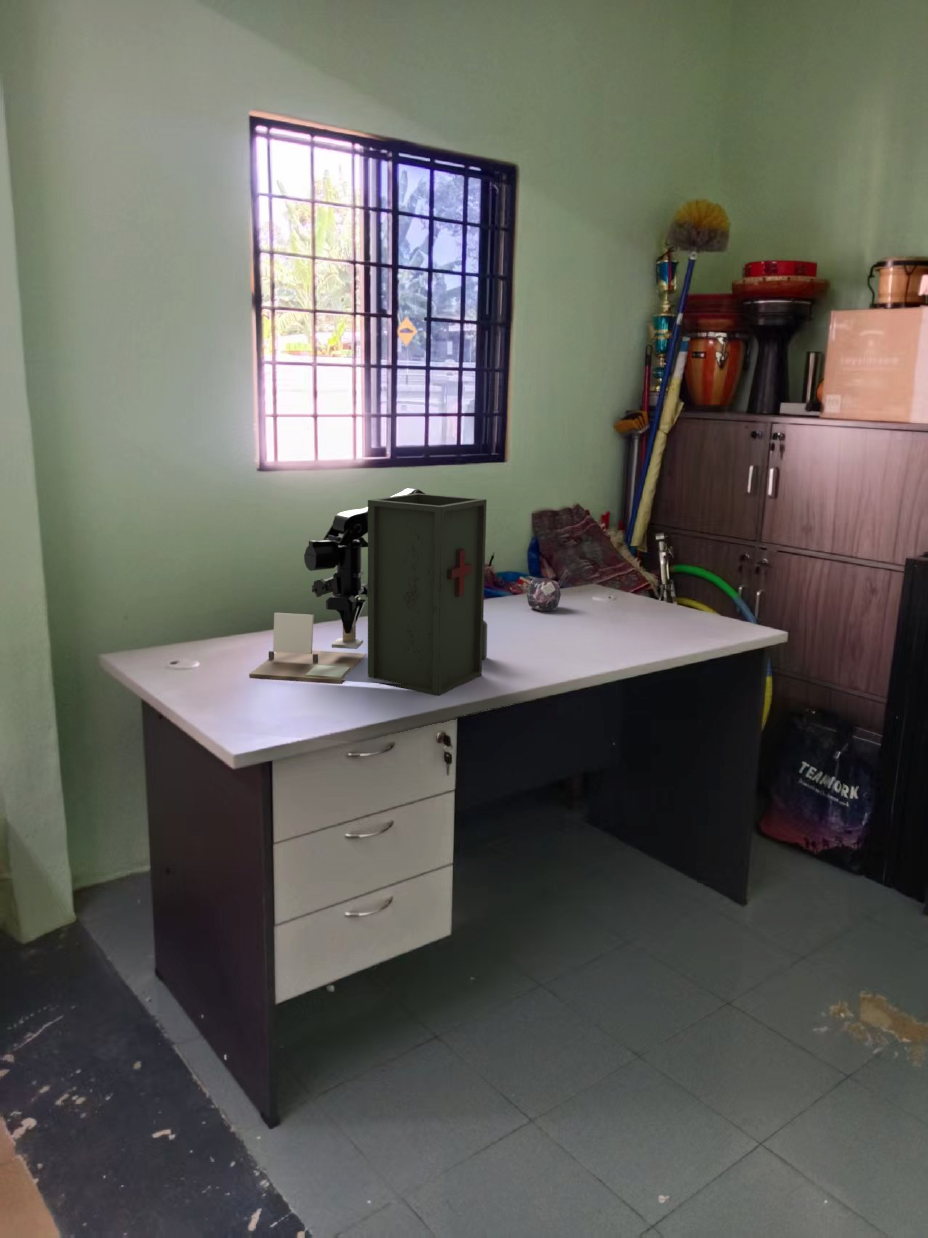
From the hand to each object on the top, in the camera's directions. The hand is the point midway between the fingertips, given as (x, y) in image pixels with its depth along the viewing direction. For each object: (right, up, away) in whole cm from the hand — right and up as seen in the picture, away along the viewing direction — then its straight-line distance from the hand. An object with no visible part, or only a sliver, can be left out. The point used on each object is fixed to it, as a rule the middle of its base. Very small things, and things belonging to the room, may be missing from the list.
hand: (349, 631), depth 231 cm
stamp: (0, -3, -1) cm, 3 cm away
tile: (-12, 0, -5) cm, 13 cm away
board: (-8, -8, -6) cm, 13 cm away
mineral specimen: (+51, +6, +59) cm, 78 cm away
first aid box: (+19, -10, -12) cm, 25 cm away
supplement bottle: (+29, -7, +5) cm, 30 cm away
